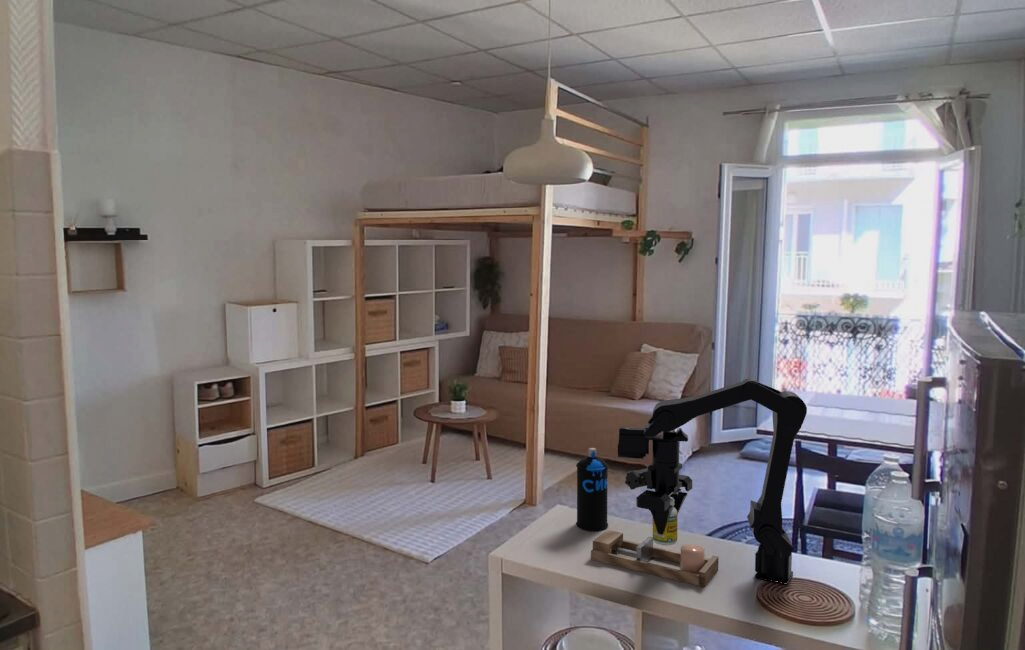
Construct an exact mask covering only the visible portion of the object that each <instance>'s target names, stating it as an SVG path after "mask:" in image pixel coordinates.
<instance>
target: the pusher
mask: <svg viewBox="0 0 1025 650" xmlns="http://www.w3.org/2000/svg"><path fill="white" fill-rule="evenodd" d="M653 547H654V541H653V536H648V537H646V538H645V539H644V540H643V541H642V542H640V544H639V545H638V546H637V551H632V550H628V549H623V548H618V549H617V550H616V555H620V556H624V557H628V558H633V559H636V560H640V561H644V562H648V563H649V561H650V560H651V559H652V558H653Z"/></svg>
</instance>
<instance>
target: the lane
mask: <svg viewBox="0 0 1025 650" xmlns="http://www.w3.org/2000/svg"><path fill="white" fill-rule="evenodd" d="M639 544H641V542H640V543H639V542H635V541H630V540H626V539H624V532H619V531H615V530H610V529H605V531H604V532H602V533H600V534H599V535H598V536H597V537H595V538H594V539H593V540H592V549H591V550H590V560H594V561H596V562H601V563H605V564H608V565H614V566H617V567H622V568H626V569H630V570H634V571H638V572H642V573H646V574H651V575H654V576H659V577H662V578H666V579H670V580H675V581H678V582H679V581H680V582H682V583H683V582H684V583H688V584H689V585H695V586H698V587H699V586H700V587H703V588H705V587H706V586H707V585H708V583H709V582H710V581H711V579H712V578H713V577H714V576H715V574H717V572H718V571H719V556H717V555H712V556H711V557H710V558H706V557H705V561H704V566H703V568H702V569H701V570H700V571H699V574H695V573H690V572H686V571H682V570H680V569H677V568H673V567H670V566H664V565H661V564H660V565H659V564H655V563H651V562H649V561H648V562H644V561H640V560H636V558H632V557H628V556H624V555H620V554H614V553H612V551H617V549H618V548H623V549H628V550H632V551H637V546H638V545H639ZM653 557H654V558H658V559H662V560H667V561H671V562H675V563H679V564H680V558H681V551H675V550H670V549H666V548H661V547H657V546H653ZM653 557H652V558H653Z"/></svg>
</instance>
